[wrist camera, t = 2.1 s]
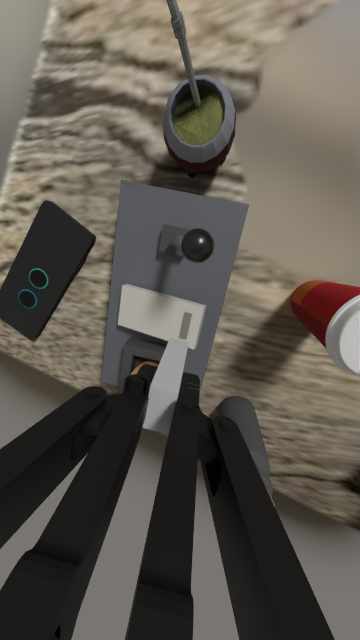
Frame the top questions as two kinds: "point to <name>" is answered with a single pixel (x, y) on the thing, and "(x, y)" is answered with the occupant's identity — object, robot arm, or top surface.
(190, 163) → the mate gourd
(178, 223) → the console
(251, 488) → the robot arm
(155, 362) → the push button
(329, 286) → the paper cup
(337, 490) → the top surface
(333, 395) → the top surface
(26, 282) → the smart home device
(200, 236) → the toggle lever
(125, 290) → the plate
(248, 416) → the bottle
